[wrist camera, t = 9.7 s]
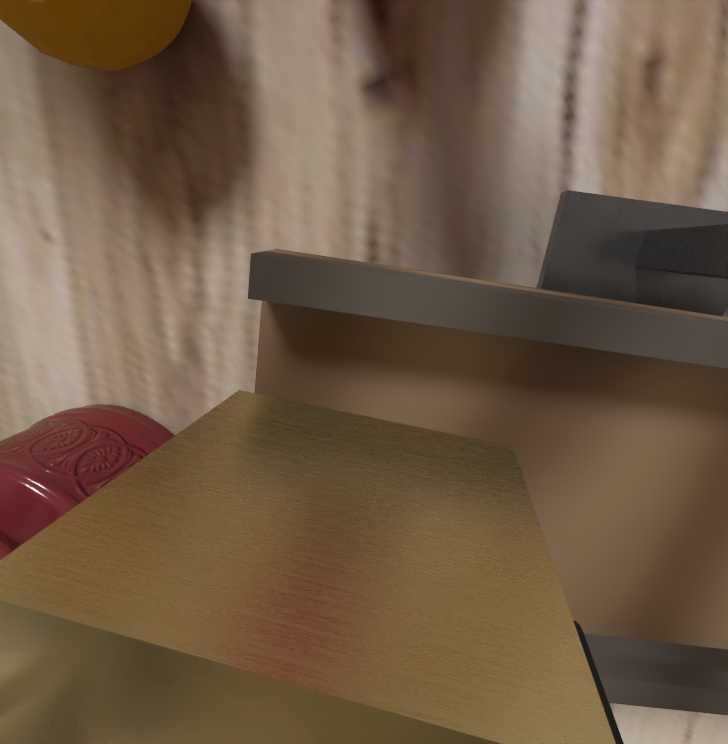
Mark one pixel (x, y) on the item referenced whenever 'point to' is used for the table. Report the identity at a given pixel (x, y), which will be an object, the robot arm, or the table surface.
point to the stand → (638, 253)
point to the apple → (97, 28)
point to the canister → (67, 464)
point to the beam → (546, 435)
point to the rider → (296, 595)
